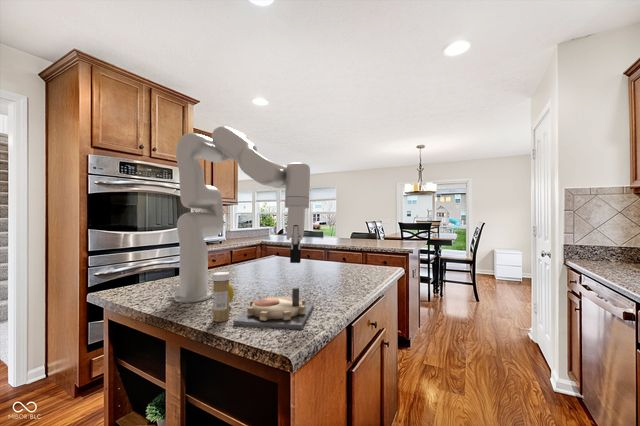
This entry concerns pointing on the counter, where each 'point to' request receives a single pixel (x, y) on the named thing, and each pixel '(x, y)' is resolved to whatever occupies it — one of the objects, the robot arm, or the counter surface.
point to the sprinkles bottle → (221, 296)
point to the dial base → (275, 320)
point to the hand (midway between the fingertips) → (295, 262)
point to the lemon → (231, 293)
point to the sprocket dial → (277, 307)
